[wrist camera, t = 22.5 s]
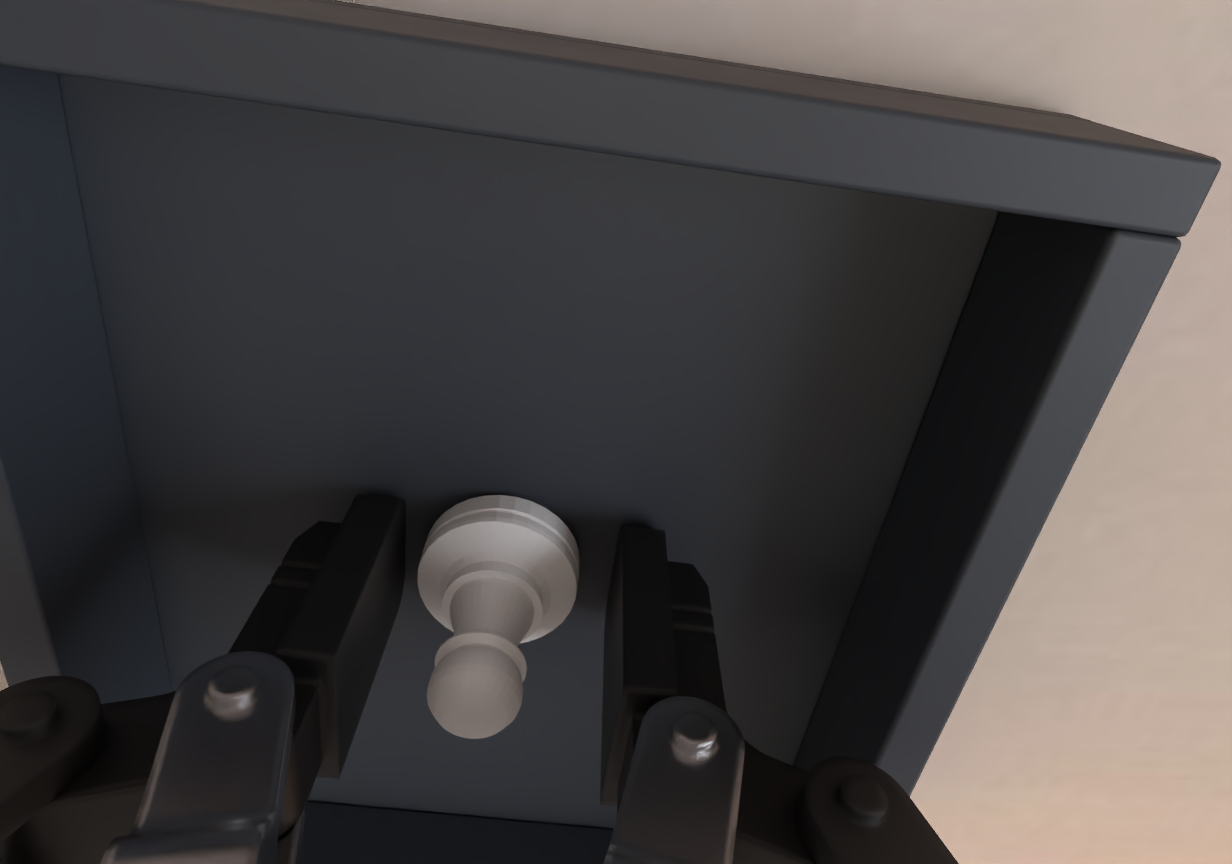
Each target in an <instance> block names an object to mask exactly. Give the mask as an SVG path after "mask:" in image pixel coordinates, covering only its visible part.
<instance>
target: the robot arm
mask: <svg viewBox="0 0 1232 864" xmlns="http://www.w3.org/2000/svg"><path fill="white" fill-rule="evenodd" d="M405 538H406V505H405V501H404V499H398V498H389V497H381V496H372V495H363V494H358V495H356V497H355V498H354V500H353V502H352V504H351V506H350V508H349V510H348V512H347V514H346V516H345V517H344V519H343V521H342V523H335V522H327V521H318V522H317V523H316V524H314V525H313V526H312V527H310V528H309V529H308V530H306V531H305V532H304V533H302V534H301V535H299V536H298V537H297V538H295V539H294V541H293V543H292V545H291V546H290V548H289V550H288V551H287V553H286V555H285V557H284V558H283V560H282V563H281V566H279V567H278V568H277V570H276V572H275V574H274V575H273V577H272V579H271V583H270V585H268V586H267V587H266V589H265V591H264V592H263V594H262V596H261V598H260V599H259V601H258V603H257V604H256V606H255V608H254V609H253V611H252V613H251V615H250V616H249V618H248V620H247V621H246V623H245V625H244V627H243V628H242V630H241V632H240V633H239V635H238V637H237V639H236V640H235V642H234V644H233V645H232V647H231V649H230V650H229V652H228V654H225V655H222V656H219V657H216V658H214V659H212V660H209V661H207V662H205V663H204V664H202V665H200V666H199V667H197V668H196V669H195V670H193V671H192V672H191V673H190V674H189V675H188V676H187V677H186V678H185V679H184V680H183V681H182V682H181V684H180V685H179V687H178V688H177V691H173V692H170V693H167V694H162V695H157V696H152V697H145V698H139V699H132V700H125V701H119V702H112V703H105V704H101V702H100V698H99V695H98V693H97V691H96V690H95V689H94V688H93V686H92V685H90V684H89V683H87V682H86V681H84V680H81V679H78V678H75V677H69V676H45V677H40V678H34V679H30V680H27V681H23V682H20V683H17V684H15V685H12V686H10V687H8V688H6V689H4V690H1V691H0V864H300V857H301V848H302V840H303V832H304V823H305V812H304V808H305V806H306V803H307V800H308V798H309V795H310V793H311V790H312V787H313V785H314V782H315V779H316V777H321V778H332V779H339V777H340V774H341V772H342V769H343V766H344V763H345V760H346V758H347V755H348V752H349V749H350V746H351V743H352V741H353V738H354V735H355V732H356V729H357V726H358V724H359V721H360V718H361V715H362V712H363V709H364V707H365V704H366V701H367V698H368V695H369V692H370V690H371V687H372V684H373V681H374V678H375V676H376V673H377V670H378V667H379V664H380V661H381V659H382V656H383V653H384V650H385V647H386V644H387V642H388V639H389V636H390V633H391V630H392V627H393V625H394V622H395V619H396V616H397V613H398V610H399V607H400V603H401V599H402V594H403V588H404V580H405ZM711 611H712V609H711V602H710V595H709V588H708V585H707V584H706V582H705V581H704V579H703V578H702V576H701V575H700V574H699V572H698V571H697V569H696V568H695V566H694V565H693V564H689V563H680V562H672V561H668V560H667V547H666V535H665V531H664V530H659V529H650V528H642V527H633V526H624V525H621V527H620V531H619V536H618V542H617V547H616V553H615V559H614V565H613V570H612V576H611V582H610V587H609V593H608V599H607V607H606V616H605V628H604V661H603V701H602V741H601V781H600V805H608V806H617V819H616V823H615V827H614V830H613V834H612V838H611V842H610V846H609V849H608V851H607V853H606V857H605V860H604V864H958V862H957V861H956V860H955V858H954V857H953V855H952V854H951V853H950V851H949V850H948V849H947V847H946V846H945V845H944V843H943V842H942V841H941V839H940V838H939V837H938V835H937V834H936V833H935V831H934V830H933V828H932V827H931V826H930V824H929V823H928V822H927V820H926V819H925V818H924V816H923V815H922V814H921V812H920V811H919V810H918V808H917V807H916V805H915V804H914V803H913V801H912V800H911V799H910V797H909V796H908V795H907V793H906V792H905V791H904V789H903V788H902V787H901V786H900V785H899V783H898V782H896V781H895V780H894V779H893V778H892V777H891V776H890V775H889V774H887V773H886V772H885V771H883V770H882V769H880V768H878V767H877V766H875V765H873V764H871V763H869V762H866V761H864V760H860V759H857V758H853V757H846V756H837V757H830V758H827V759H824V760H822V761H820V762H819V763H817V764H816V765H815V766H814V767H813V768H812V769H811V771H810V772H807V771H805V770H802V769H800V768H797V767H794V766H792V765H789V764H787V763H784V762H782V761H779V760H777V759H774V758H772V757H770V756H768V755H766V754H764V753H762V752H761V751H759V750H757V749H756V748H755V747H753V746H752V745H751V744H749V743H748V742H747V741H746V740H745V739H744V738H743V736H742V733H741V731H740V729H739V727H738V726H737V724H736V722H735V721H734V720H733V719H732V718H731V717H730V716H729V715H728V713H727V709H726V705H725V698H724V691H723V684H722V677H721V671H720V664H719V657H718V650H717V643H716V636H715V634H714V622H713V615H712V614H711Z"/></svg>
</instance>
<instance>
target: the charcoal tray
mask: <svg viewBox="0 0 1232 864" xmlns="http://www.w3.org/2000/svg"><path fill="white" fill-rule="evenodd" d="M1220 166H1221V162H1220V161H1219V160H1217V159H1216V158H1214V157H1211V156H1207V155H1204V154H1201V153H1197V152H1194V151H1190V150H1187V149H1184V148H1180V147H1177V146H1173V145H1170V144H1167V143H1163V142H1160V141H1156V140H1153V139H1150V138H1146V137H1143V136H1140V135H1136V134H1133V133H1129V132H1126V131H1123V130H1119V129H1116V128H1112V127H1109V126H1106V125H1102V124H1099V123H1096V122H1091V121H1090V120H1086V119H1083V118H1080V117H1076V116H1073V115H1068V114H1062V113H1055V112H1049V111H1043V110H1036V109H1030V108H1023V107H1017V106H1010V105H1004V104H997V103H991V102H985V101H978V100H972V99H965V98H959V97H952V96H946V95H939V94H933V93H927V92H920V91H914V90H907V89H901V88H894V87H888V86H881V85H875V84H869V83H862V82H856V81H849V80H843V79H836V78H830V77H824V76H817V75H811V74H804V73H798V72H791V71H785V70H778V69H772V68H766V67H759V66H753V65H746V64H740V63H733V62H727V61H720V60H714V59H708V58H701V57H695V56H688V55H682V54H675V53H669V52H662V51H656V50H650V49H643V48H637V47H630V46H624V45H617V44H611V43H604V42H598V41H592V40H585V39H579V38H572V37H566V36H559V35H553V34H547V33H540V32H534V31H527V30H521V29H514V28H508V27H501V26H495V25H489V24H482V23H476V22H469V21H463V20H456V19H450V18H443V17H437V16H431V15H424V14H418V13H411V12H405V11H398V10H392V9H385V8H379V7H373V6H366V5H360V4H353V3H347V2H340V1H334V0H0V661H1V664H2V667H3V670H4V673H5V676H6V679H7V683H8V686H9V687H10V686H12V685H15V684H17V683H20V682H23V681H27V680H30V679H34V678H40V677H45V676H69V677H75V678H78V679H81V680H84V681H86V682H87V683H89V684H90V685H92V686H93V688H94V689H95V690H96V691H97V693H98V695H99V698H100V702H101V704H105V703H112V702H119V701H125V700H132V699H139V698H145V697H152V696H157V695H162V694H167V693H170V692H173V691H177V688H178V687H179V685H180V684H181V682H182V681H183V680H184V679H185V678H186V677H187V676H188V675H189V674H190V673H191V672H192V671H193V670H195V669H196V668H197V667H199V666H200V665H202V664H204V663H205V662H207V661H209V660H212V659H214V658H216V657H219V656H222V655H225V654H228V652H229V650H230V649H231V647H232V645H233V644H234V642H235V640H236V639H237V637H238V635H239V633H240V632H241V630H242V628H243V627H244V625H245V623H246V621H247V620H248V618H249V616H250V615H251V613H252V611H253V609H254V608H255V606H256V604H257V603H258V601H259V599H260V598H261V596H262V594H263V592H264V591H265V589H266V587H267V586H268V585H270V583H271V579H272V577H273V575H274V574H275V572H276V570H277V568H278V567H279V566H281V563H282V560H283V558H284V557H285V555H286V553H287V551H288V550H289V548H290V546H291V545H292V543H293V541H294V539H295V538H297V537H298V536H299V535H301V534H302V533H304V532H305V531H306V530H308V529H309V528H310V527H312V526H313V525H314V524H316V523H317V522H318V521H327V522H335V523H342V521H343V519H344V517H345V516H346V514H347V512H348V510H349V508H350V506H351V504H352V502H353V500H354V498H355V497H356V495H358V494H363V495H372V496H381V497H389V498H398V499H404V501H405V505H406V538H405V580H404V588H403V594H402V599H401V603H400V607H399V610H398V613H397V616H396V619H395V622H394V625H393V627H392V630H391V633H390V636H389V639H388V642H387V644H386V647H385V650H384V653H383V656H382V659H381V661H380V664H379V667H378V670H377V673H376V676H375V678H374V681H373V684H372V687H371V690H370V692H369V695H368V698H367V701H366V704H365V707H364V709H363V712H362V715H361V718H360V721H359V724H358V726H357V729H356V732H355V735H354V738H353V741H352V743H351V746H350V749H349V752H348V755H347V758H346V760H345V763H344V766H343V769H342V772H341V774H340V777H339V779H332V778H321V777H316V779H315V782H314V785H313V787H312V790H311V793H310V795H309V798H308V800H307V803H306V806H305V808H304V812H305V823H304V832H303V840H302V848H301V857H300V864H604V860H605V857H606V853H607V851H608V849H609V846H610V842H611V838H612V834H613V830H614V827H615V823H616V819H617V806H608V805H600V781H601V741H602V701H603V661H604V628H605V616H606V607H607V599H608V593H609V587H610V582H611V576H612V570H613V565H614V559H615V553H616V547H617V542H618V536H619V531H620V527H621V525H624V526H633V527H642V528H650V529H659V530H664V531H665V535H666V547H667V560H668V561H672V562H680V563H689V564H693V565H694V566H695V568H696V569H697V571H698V572H699V574H700V575H701V576H702V578H703V579H704V581H705V582H706V584H707V585H708V588H709V595H710V602H711V609H712V611H711V614H712V615H713V622H714V634H715V636H716V643H717V650H718V657H719V664H720V671H721V677H722V684H723V691H724V698H725V705H726V709H727V713H728V715H729V716H730V717H731V718H732V719H733V720H734V721H735V722H736V724H737V726H738V727H739V729H740V731H741V733H742V736H743V738H744V739H745V740H746V741H747V742H748V743H749V744H751V745H752V746H753V747H755V748H756V749H757V750H759V751H761V752H762V753H764V754H766V755H768V756H770V757H772V758H774V759H777V760H779V761H782V762H784V763H787V764H789V765H792V766H794V767H797V768H800V769H802V770H805V771H807V772H810V771H811V769H812V768H813V767H814V766H815V765H816V764H817V763H819V762H820V761H822V760H824V759H827V758H830V757H837V756H846V757H853V758H857V759H860V760H864V761H866V762H869V763H871V764H873V765H875V766H877V767H878V768H880V769H882V770H883V771H885V772H886V773H887V774H889V775H890V776H891V777H892V778H893V779H894V780H895V781H896V782H898V783H899V785H900V786H901V787H902V788H903V789H904V791H905V792H906V793H907V795H908V796H909V797H910V795H911V793H912V791H913V789H914V787H915V785H916V783H917V781H918V779H919V777H920V775H921V772H922V770H923V768H924V766H925V764H926V762H927V760H928V758H929V756H930V754H931V752H932V750H933V748H934V746H935V744H936V742H937V740H938V738H939V736H940V734H941V732H942V730H943V728H944V726H945V724H946V722H947V720H948V718H949V716H950V714H951V712H952V710H953V708H954V706H955V704H956V702H957V700H958V698H959V695H960V693H961V691H962V689H963V687H964V685H965V683H966V681H967V679H968V677H969V675H970V673H971V671H972V669H973V667H974V665H975V663H976V661H977V659H978V657H979V655H980V653H981V651H982V649H983V647H984V645H985V643H986V641H987V639H988V637H989V635H990V633H991V631H992V629H993V627H994V625H995V623H996V621H997V618H998V616H999V614H1000V612H1001V610H1002V608H1003V606H1004V604H1005V602H1006V600H1007V598H1008V596H1009V594H1010V592H1011V590H1012V588H1013V586H1014V584H1015V582H1016V580H1017V578H1018V576H1019V574H1020V572H1021V570H1022V568H1023V566H1024V564H1025V562H1026V560H1027V558H1028V556H1029V554H1030V552H1031V550H1032V548H1033V546H1034V543H1035V541H1036V539H1037V537H1038V535H1039V533H1040V531H1041V529H1042V527H1043V525H1044V523H1045V521H1046V519H1047V517H1048V515H1049V513H1050V511H1051V509H1052V507H1053V505H1054V503H1055V501H1056V499H1057V497H1058V495H1059V493H1060V491H1061V489H1062V487H1063V485H1064V483H1065V481H1066V479H1067V477H1068V475H1069V473H1070V471H1071V469H1072V466H1073V464H1074V462H1075V460H1076V458H1077V456H1078V454H1079V452H1080V450H1081V448H1082V446H1083V444H1084V442H1085V440H1086V438H1087V436H1088V434H1089V432H1090V430H1091V428H1092V426H1093V424H1094V422H1095V420H1096V418H1097V416H1098V414H1099V412H1100V410H1101V408H1102V406H1103V404H1104V402H1105V400H1106V398H1107V396H1108V394H1109V392H1110V389H1111V387H1112V385H1113V383H1114V381H1115V379H1116V377H1117V375H1118V373H1119V371H1120V369H1121V367H1122V365H1123V363H1124V361H1125V359H1126V357H1127V355H1128V353H1129V351H1130V349H1131V347H1132V345H1133V343H1134V341H1135V339H1136V337H1137V335H1138V333H1139V331H1140V329H1141V327H1142V325H1143V323H1144V321H1145V319H1146V317H1147V315H1148V312H1149V310H1150V308H1151V306H1152V304H1153V302H1154V300H1155V298H1156V296H1157V294H1158V292H1159V290H1160V288H1161V286H1162V284H1163V282H1164V280H1165V278H1166V276H1167V274H1168V272H1169V270H1170V268H1171V266H1172V264H1173V262H1174V260H1175V258H1176V256H1177V254H1178V252H1179V250H1180V247H1181V242H1180V240H1179V239H1177V238H1176V237H1181V236H1185V235H1186V234H1187V233H1188V232H1189V230H1190V228H1191V226H1192V224H1193V222H1194V220H1195V218H1196V216H1197V214H1198V212H1199V210H1200V208H1201V206H1202V204H1203V202H1204V200H1205V198H1206V196H1207V194H1208V192H1209V190H1210V188H1211V186H1212V184H1213V182H1214V180H1215V178H1216V176H1217V174H1218V172H1219V170H1220ZM487 495H505V496H513V497H519V498H522V499H526V500H529V501H532V502H534V503H536V504H539V505H541V506H543V507H545V508H547V509H548V510H549V511H551V512H552V513H553V514H555V515H556V516H558V517H559V518H560V519H561V520H562V522H563V523H564V524H565V525H566V526H567V527H568V528H569V530H570V531H571V533H572V535H573V536H574V538H575V541H576V543H577V546H578V549H579V557H580V569H579V579H578V588H577V595H576V599H575V602H574V604H573V607H572V609H571V611H570V613H569V614H568V616H567V617H566V618H565V620H564V621H563V622H562V623H561V624H560V625H559V626H558V627H556V628H555V629H554V630H553V631H551V632H549V633H548V634H546V635H544V636H542V637H540V638H538V639H535V640H532V641H529V642H525V643H519V645H518V648H519V649H520V650H521V652H522V653H523V655H524V657H525V659H526V664H527V671H526V677H525V679H524V681H523V697H522V705H521V707H520V710H519V712H518V714H517V716H516V717H515V719H514V720H513V721H512V722H511V723H510V724H509V725H508V726H507V727H505V728H504V729H503V730H501V731H500V732H498V733H496V734H494V735H492V736H489V737H486V738H481V739H469V738H463V737H459V736H456V735H454V734H452V733H450V732H448V731H446V730H445V729H444V728H443V727H442V726H441V725H440V724H439V723H438V722H437V720H436V719H435V718H434V716H433V714H432V712H431V710H430V709H429V706H428V703H427V688H428V684H429V681H430V678H431V675H432V673H433V671H434V669H435V657H436V654H437V651H438V649H439V648H440V646H441V645H442V644H443V643H444V642H445V641H446V640H448V639H450V638H451V637H453V636H454V632H452V631H451V630H449V629H448V628H446V627H444V626H443V625H442V624H441V623H440V622H439V621H438V620H436V619H435V618H434V617H433V615H432V614H431V613H430V612H429V610H428V609H427V608H426V606H425V604H424V602H423V600H422V598H421V596H420V592H419V588H418V583H417V581H418V566H419V562H420V559H421V556H422V552H423V549H424V546H425V543H426V540H427V537H428V534H429V532H430V530H431V528H432V527H433V525H434V523H435V522H436V521H437V520H438V519H439V517H440V516H441V515H442V514H443V513H444V512H446V511H447V510H449V509H450V508H452V507H453V506H455V505H456V504H459V503H461V502H463V501H466V500H468V499H471V498H476V497H481V496H487Z"/></svg>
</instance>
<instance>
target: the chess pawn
mask: <svg viewBox="0 0 1232 864" xmlns="http://www.w3.org/2000/svg"><path fill="white" fill-rule="evenodd" d="M579 569H580V557H579V549H578V546H577V543H576V541H575V538H574V536H573V535H572V533H571V531H570V530H569V528H568V527H567V526H566V525H565V524H564V523H563V522H562V520H561V519H560V518H559V517H558V516H556V515H555V514H553V513H552V512H551V511H549V510H548V509H547V508H545V507H543V506H541V505H539V504H536V503H534V502H532V501H529V500H526V499H522V498H519V497H513V496H505V495H487V496H481V497H476V498H471V499H468V500H466V501H463V502H461V503H459V504H456V505H455V506H453V507H452V508H450V509H449V510H447V511H446V512H444V513H443V514H442V515H441V516H440V517H439V519H438V520H437V521H436V522H435V523H434V525H433V527H432V528H431V530H430V532H429V534H428V537H427V540H426V543H425V546H424V549H423V552H422V556H421V559H420V562H419V566H418V581H417V583H418V588H419V592H420V596H421V598H422V600H423V602H424V604H425V606H426V608H427V609H428V610H429V612H430V613H431V614H432V615H433V617H434V618H435V619H436V620H438V621H439V622H440V623H441V624H442V625H443V626H444V627H446V628H448V629H449V630H451V631H452V632H454V636H453V637H451V638H450V639H448V640H446V641H445V642H444V643H443V644H442V645H441V646H440V648H439V649H438V651H437V654H436V657H435V669H434V671H433V673H432V675H431V678H430V681H429V684H428V688H427V703H428V706H429V709H430V710H431V712H432V714H433V716H434V718H435V719H436V720H437V722H438V723H439V724H440V725H441V726H442V727H443V728H444V729H445V730H446V731H448V732H450V733H452V734H454V735H456V736H459V737H463V738H469V739H481V738H486V737H489V736H492V735H494V734H496V733H498V732H500V731H501V730H503V729H504V728H505V727H507V726H508V725H509V724H510V723H511V722H512V721H513V720H514V719H515V717H516V716H517V714H518V712H519V710H520V707H521V705H522V697H523V681H524V679H525V677H526V671H527V664H526V659H525V657H524V655H523V653H522V652H521V650H520V649H519V648H518V645H519V643H525V642H529V641H532V640H535V639H538V638H540V637H542V636H544V635H546V634H548V633H549V632H551V631H553V630H554V629H555V628H556V627H558V626H559V625H560V624H561V623H562V622H563V621H564V620H565V618H566V617H567V616H568V614H569V613H570V611H571V609H572V607H573V604H574V602H575V599H576V595H577V588H578V579H579Z"/></svg>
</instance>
